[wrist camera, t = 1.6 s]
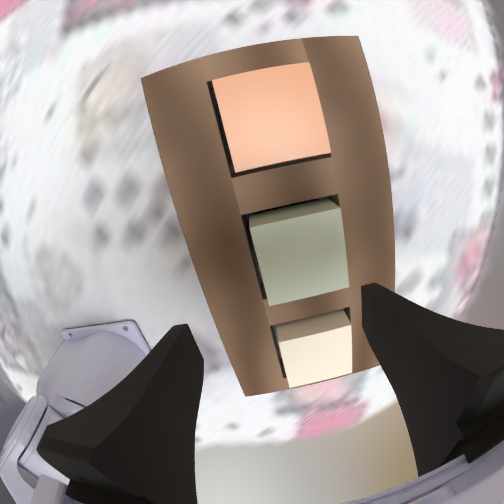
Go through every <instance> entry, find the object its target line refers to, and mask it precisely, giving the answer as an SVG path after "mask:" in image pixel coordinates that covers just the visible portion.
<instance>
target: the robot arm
mask: <svg viewBox="0 0 504 504" xmlns="http://www.w3.org/2000/svg"><path fill="white" fill-rule="evenodd" d="M361 301H362V327H363V330H364V333H365V335H366V338H367V340H368V343H369V345H370V347H371V349H372V351H373V353H374V354H375V356H376V358H377V360H378V362H379V363H380V365H381V367H382V369H383V371H384V372H385V374H386V376H387V378H388V380H389V382H390V384H391V385H392V388H393V390H394V392H395V394H396V397H397V399H398V402H399V405H400V407H401V410H402V413H403V416H404V419H405V422H406V425H407V429H408V432H409V436H410V439H411V443H412V446H413V451H414V456H415V460H416V465H417V470H418V478H416V479H413V480H411V481H409V482H406V483H404V484H401V485H399V486H396V487H393V488H391V489H388V490H385V491H383V492H380V493H377V494H374V495H370V496H367V497H364V498H361V499H357V500H354V501H350V502H346V503H342V504H408V503H410V502H412V501H415V500H417V499H419V498H421V499H420V500H418V501H416V502H414V503H412V504H504V330H501V329H493V328H486V327H481V326H476V325H472V324H468V323H464V322H461V321H457V320H454V319H451V318H449V317H446V316H443V315H440V314H438V313H435V312H433V311H431V310H428V309H426V308H424V307H422V306H420V305H417V304H415V303H413V302H411V301H409V300H408V299H406V298H404V297H402V296H400V295H398V294H396V293H394V292H393V291H391V290H389V289H387V288H385V287H383V286H381V285H380V284H377V283H375V282H374V283H370V284H367V285H363V286H361ZM125 326H126V327H127V328H126V327H125ZM61 336H62V337H63V339H64V342H63V343H62V345H61V346H60V348H59V349H58V350H57V352H56V353H55V355H54V356H53V357H52V359H51V360H50V362H49V363H48V365H47V366H46V368H45V369H44V371H43V372H42V374H41V375H40V377H39V379H38V383H37V396H33V397H32V398H31V399H30V400H29V401H28V403H27V404H26V406H25V407H24V409H23V410H22V412H21V413H20V415H19V417H18V418H17V420H16V422H15V424H14V425H13V427H12V429H11V431H10V433H9V435H8V437H7V439H6V441H5V444H4V448H3V450H2V452H1V454H0V476H1V478H2V480H3V482H4V483H5V485H6V487H7V488H8V490H9V492H10V493H11V495H12V497H13V498H14V500H15V501H16V503H17V504H197V495H196V483H195V461H194V459H195V458H194V454H195V453H194V452H195V429H196V421H197V415H198V409H199V403H200V398H201V392H202V386H203V375H204V359H203V357H202V355H201V353H200V350H199V348H198V346H197V344H196V342H195V340H194V337H193V335H192V333H191V331H190V329H189V326H188V324H182V325H175V326H173V327H172V328H171V329H170V330H169V331H168V332H167V333H166V334H165V335H164V337H163V338H162V339H161V340H160V341H159V342H158V343H157V344H156V346H155V347H154V348H153V349H152V350H151V351H150V349H149V347H148V346H147V344H146V342H145V340H144V338H143V337H142V335H141V333H140V331H139V329H138V327H137V325H136V324H135V323H134V322H132V321H125V322H119V323H112V324H105V325H97V326H90V327H82V328H74V329H66V330H62V332H61ZM430 493H431V494H430ZM428 494H429V495H428ZM426 495H427V496H426ZM424 496H425V497H424ZM422 497H423V498H422Z"/></svg>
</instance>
